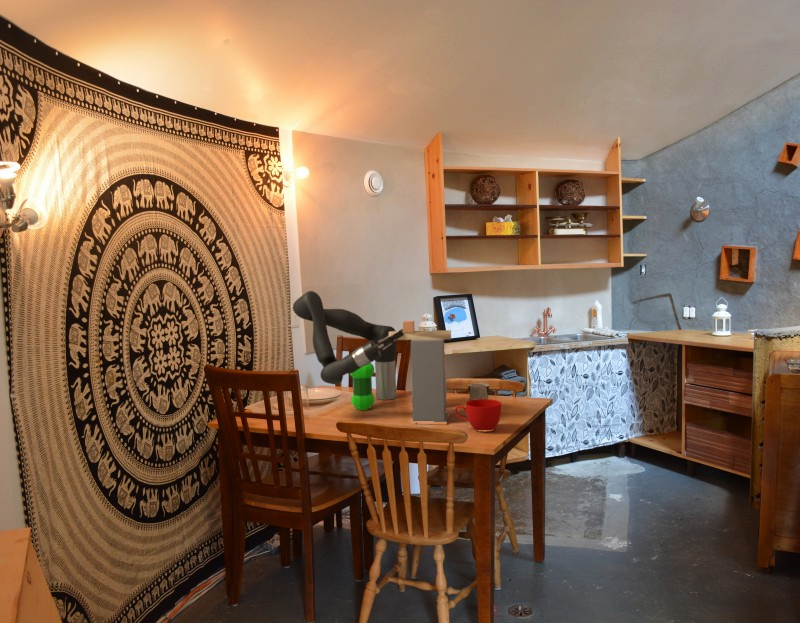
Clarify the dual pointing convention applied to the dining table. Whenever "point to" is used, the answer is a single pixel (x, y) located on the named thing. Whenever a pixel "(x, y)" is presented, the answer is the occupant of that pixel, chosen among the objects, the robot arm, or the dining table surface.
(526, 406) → the dining table surface
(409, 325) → the orange cube
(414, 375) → the stand
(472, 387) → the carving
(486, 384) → the coffee mug
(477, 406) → the ceramic cup
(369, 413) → the dining table surface
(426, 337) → the tan wooden bar
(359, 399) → the plastic bottle
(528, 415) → the dining table surface
